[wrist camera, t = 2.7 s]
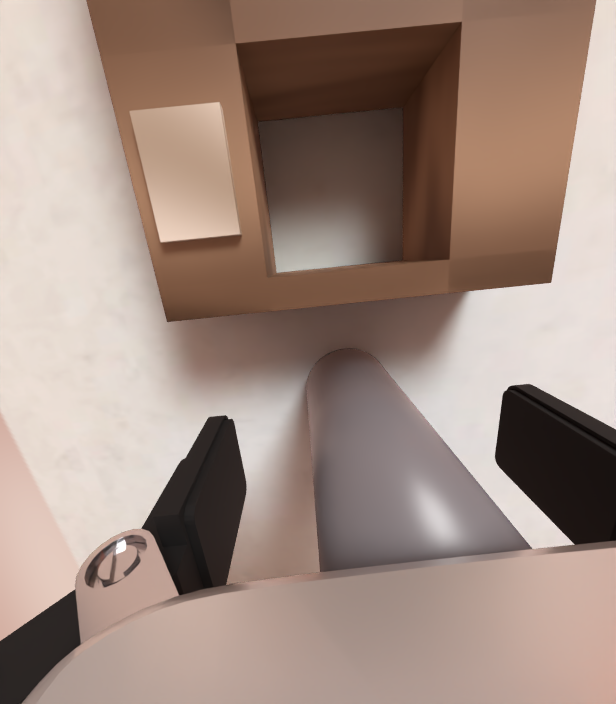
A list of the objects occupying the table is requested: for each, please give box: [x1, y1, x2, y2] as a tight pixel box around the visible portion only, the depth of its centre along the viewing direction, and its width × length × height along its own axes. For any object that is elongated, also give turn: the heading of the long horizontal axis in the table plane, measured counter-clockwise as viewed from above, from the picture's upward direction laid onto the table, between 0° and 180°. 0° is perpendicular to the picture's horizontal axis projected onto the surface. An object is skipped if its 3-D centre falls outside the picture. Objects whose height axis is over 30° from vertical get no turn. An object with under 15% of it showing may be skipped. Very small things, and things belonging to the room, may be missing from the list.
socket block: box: [87, 0, 596, 322], centre depth 8 cm, size 14×12×4 cm
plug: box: [306, 349, 532, 572], centre depth 9 cm, size 4×4×10 cm
